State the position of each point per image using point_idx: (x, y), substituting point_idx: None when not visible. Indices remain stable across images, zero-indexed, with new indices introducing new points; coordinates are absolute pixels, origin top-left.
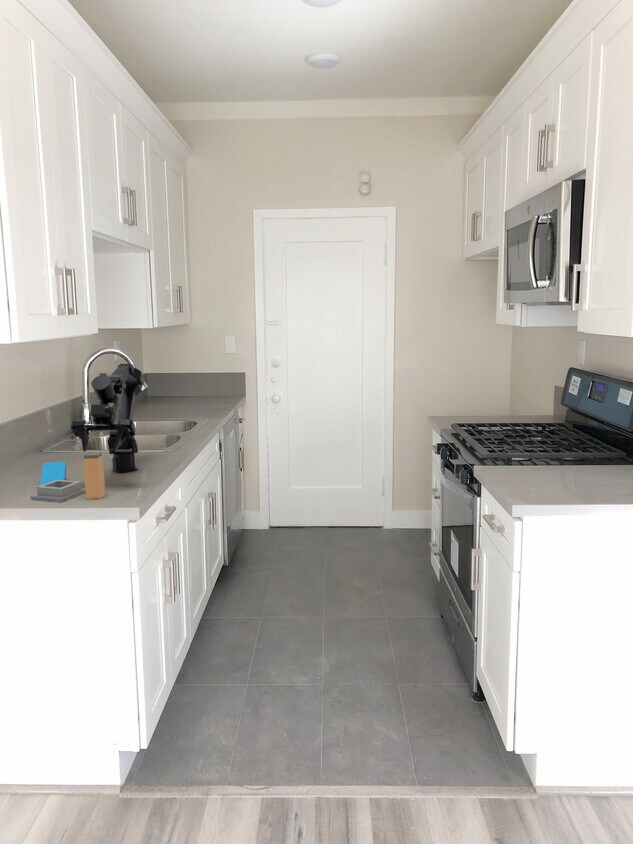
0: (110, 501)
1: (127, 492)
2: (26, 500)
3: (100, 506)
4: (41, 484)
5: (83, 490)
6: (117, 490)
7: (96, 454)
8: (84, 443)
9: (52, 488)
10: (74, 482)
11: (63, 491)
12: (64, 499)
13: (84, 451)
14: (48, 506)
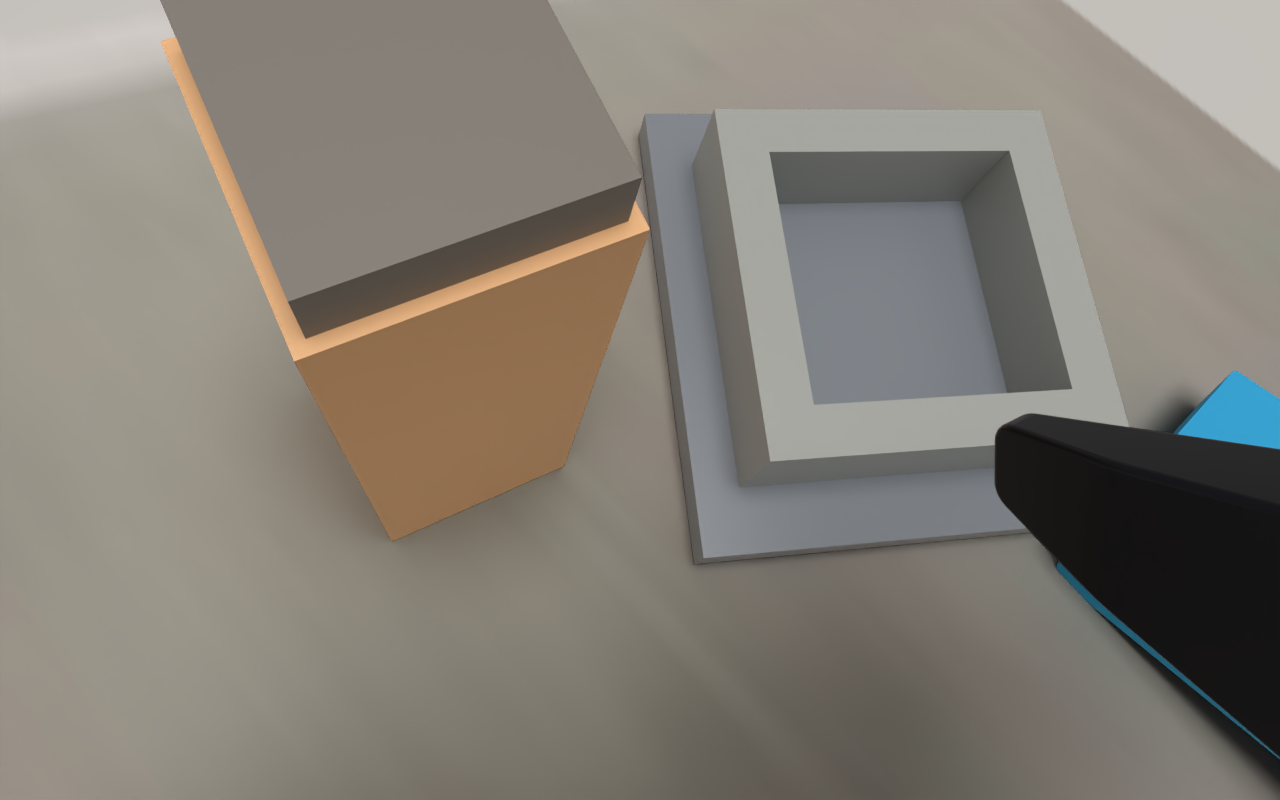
0: (120, 314)
1: (144, 744)
2: (1006, 108)
3: (117, 129)
4: (1238, 385)
5: (692, 470)
6: (363, 775)
7: (234, 38)
8: (1192, 475)
9: (834, 109)
10: (823, 406)
11: (708, 159)
12: (646, 163)
13: (1007, 469)
14: (656, 11)
